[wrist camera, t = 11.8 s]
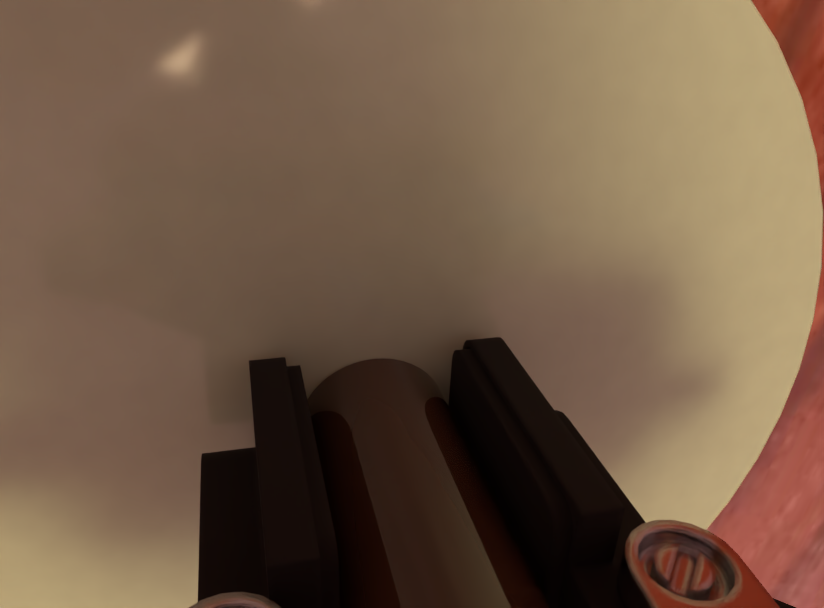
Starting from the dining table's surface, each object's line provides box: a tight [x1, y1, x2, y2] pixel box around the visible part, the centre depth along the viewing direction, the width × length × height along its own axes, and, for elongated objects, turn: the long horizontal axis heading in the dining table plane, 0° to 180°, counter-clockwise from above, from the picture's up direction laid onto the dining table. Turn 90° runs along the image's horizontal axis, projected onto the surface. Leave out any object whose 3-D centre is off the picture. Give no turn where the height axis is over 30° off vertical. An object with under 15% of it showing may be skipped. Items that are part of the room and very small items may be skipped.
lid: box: [0, 0, 823, 608], centre depth 10 cm, size 17×17×6 cm
